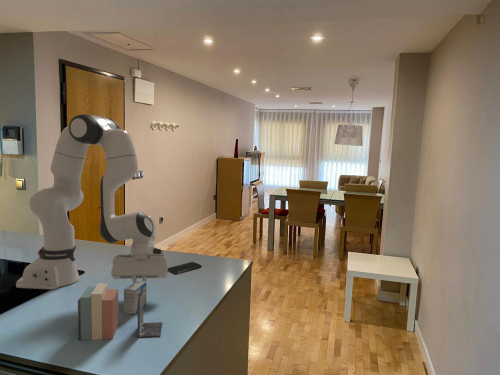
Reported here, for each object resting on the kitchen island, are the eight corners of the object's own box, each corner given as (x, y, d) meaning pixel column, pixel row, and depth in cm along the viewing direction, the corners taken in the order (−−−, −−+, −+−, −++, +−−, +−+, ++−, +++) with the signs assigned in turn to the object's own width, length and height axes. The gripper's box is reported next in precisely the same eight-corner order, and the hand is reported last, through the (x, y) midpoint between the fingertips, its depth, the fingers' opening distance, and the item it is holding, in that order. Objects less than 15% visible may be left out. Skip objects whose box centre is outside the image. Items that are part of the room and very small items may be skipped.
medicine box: (135, 315, 120) (135, 290, 119) (123, 313, 121) (123, 288, 120) (146, 305, 128) (146, 281, 127) (135, 303, 129) (135, 280, 128)
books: (80, 340, 104) (80, 294, 102) (88, 326, 112) (88, 283, 110) (112, 338, 106) (112, 293, 104) (118, 325, 113) (118, 282, 112)
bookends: (78, 340, 104) (77, 301, 103) (86, 326, 112) (86, 289, 110) (160, 336, 108) (160, 298, 106) (162, 323, 116) (162, 287, 114)
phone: (202, 265, 169) (175, 272, 158) (202, 268, 169) (175, 275, 158) (192, 261, 174) (166, 268, 164) (192, 263, 175) (166, 270, 164)
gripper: (112, 250, 134) (106, 286, 126) (168, 250, 137) (166, 284, 129) (115, 258, 139) (109, 293, 131) (168, 257, 142) (166, 291, 134)
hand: (138, 288), depth 130 cm, fingers closed
